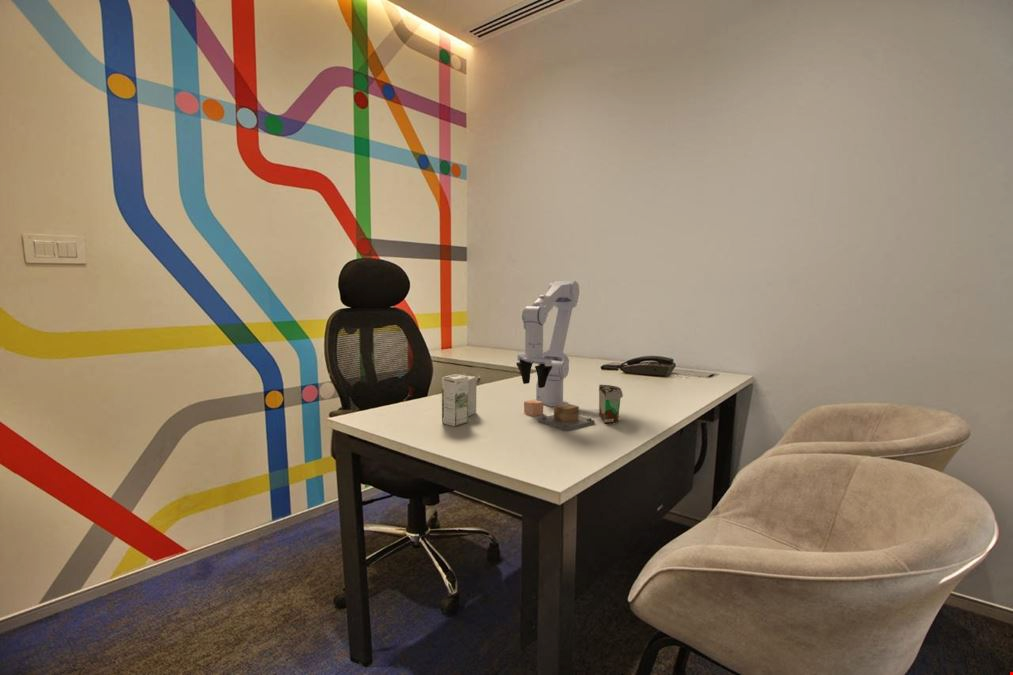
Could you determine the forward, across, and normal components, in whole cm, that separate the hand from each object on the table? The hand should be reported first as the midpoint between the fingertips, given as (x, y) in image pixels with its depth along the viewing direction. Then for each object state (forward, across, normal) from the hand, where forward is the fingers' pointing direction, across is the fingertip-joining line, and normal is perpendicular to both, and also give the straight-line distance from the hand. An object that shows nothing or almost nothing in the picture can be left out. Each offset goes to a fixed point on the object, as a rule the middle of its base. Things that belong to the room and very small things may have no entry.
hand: (533, 385), depth 157 cm
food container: (+10, +21, +14) cm, 27 cm away
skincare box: (+10, -12, -18) cm, 24 cm away
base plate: (+9, +14, +1) cm, 17 cm away
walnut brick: (+8, +14, +1) cm, 16 cm away
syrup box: (+10, -6, -26) cm, 28 cm away
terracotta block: (+9, 0, 0) cm, 9 cm away
